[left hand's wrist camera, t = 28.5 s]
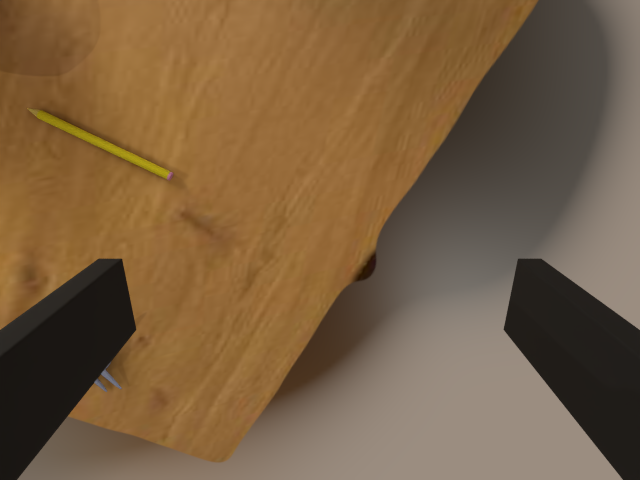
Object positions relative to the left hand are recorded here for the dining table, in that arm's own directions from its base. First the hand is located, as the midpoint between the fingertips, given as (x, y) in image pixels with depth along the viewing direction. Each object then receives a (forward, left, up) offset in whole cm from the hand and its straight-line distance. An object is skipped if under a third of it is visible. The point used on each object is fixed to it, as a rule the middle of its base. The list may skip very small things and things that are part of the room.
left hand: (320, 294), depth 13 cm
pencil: (-14, +20, -33) cm, 41 cm away
